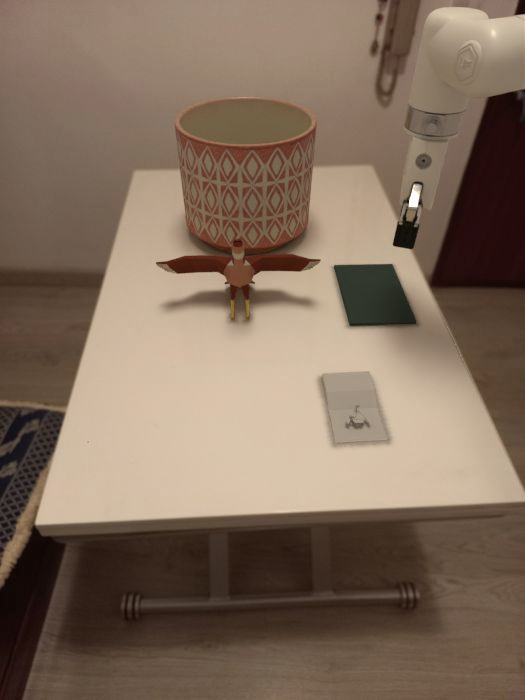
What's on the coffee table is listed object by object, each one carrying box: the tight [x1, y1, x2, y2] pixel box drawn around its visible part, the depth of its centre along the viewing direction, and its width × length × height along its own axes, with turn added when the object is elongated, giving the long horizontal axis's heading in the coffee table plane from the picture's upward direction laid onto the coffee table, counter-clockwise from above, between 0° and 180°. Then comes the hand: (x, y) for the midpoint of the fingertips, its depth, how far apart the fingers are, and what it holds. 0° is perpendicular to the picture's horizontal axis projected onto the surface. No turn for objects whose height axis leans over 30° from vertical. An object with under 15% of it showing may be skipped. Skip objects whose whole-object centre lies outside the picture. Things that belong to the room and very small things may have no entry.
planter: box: [174, 95, 318, 255], centre depth 97 cm, size 27×27×24 cm
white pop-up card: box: [321, 370, 388, 444], centre depth 68 cm, size 7×12×2 cm, turn 4°
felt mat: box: [333, 263, 418, 327], centre depth 89 cm, size 12×18×1 cm, turn 3°
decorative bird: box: [155, 239, 322, 320], centre depth 81 cm, size 28×18×15 cm, turn 92°
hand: (406, 231), depth 75 cm, fingers open, 9 cm apart
